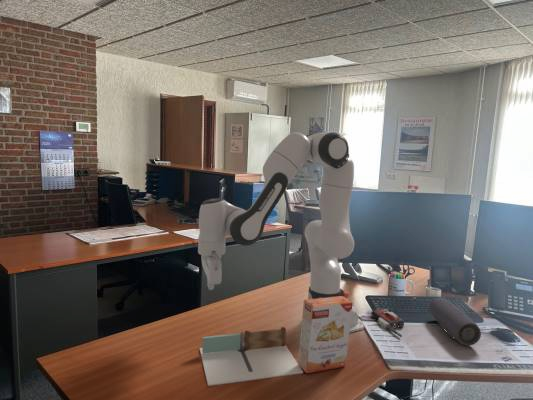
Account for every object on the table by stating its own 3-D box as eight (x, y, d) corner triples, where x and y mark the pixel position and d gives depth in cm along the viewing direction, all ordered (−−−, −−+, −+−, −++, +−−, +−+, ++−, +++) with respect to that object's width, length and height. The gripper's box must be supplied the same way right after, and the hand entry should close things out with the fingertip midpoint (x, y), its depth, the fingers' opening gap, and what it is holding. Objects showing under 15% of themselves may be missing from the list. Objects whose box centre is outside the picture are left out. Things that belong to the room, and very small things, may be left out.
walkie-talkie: (366, 316, 156) (398, 340, 137) (367, 306, 155) (399, 328, 136) (384, 314, 159) (418, 337, 140) (385, 303, 158) (419, 325, 139)
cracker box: (306, 375, 112) (312, 306, 110) (297, 364, 118) (302, 298, 115) (346, 367, 118) (353, 301, 115) (335, 357, 123) (341, 294, 121)
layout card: (281, 340, 133) (281, 338, 133) (303, 373, 114) (303, 371, 114) (199, 349, 125) (199, 347, 125) (208, 386, 106) (208, 384, 106)
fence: (284, 343, 130) (284, 326, 129) (285, 346, 128) (286, 329, 127) (243, 348, 126) (244, 330, 125) (244, 350, 124) (245, 333, 123)
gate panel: (242, 348, 125) (243, 331, 125) (243, 349, 124) (244, 333, 124) (202, 352, 122) (202, 335, 121) (202, 354, 121) (202, 337, 120)
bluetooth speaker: (481, 349, 132) (484, 322, 131) (454, 348, 132) (457, 321, 131) (449, 320, 155) (452, 296, 153) (426, 319, 155) (428, 295, 153)
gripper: (227, 256, 117) (225, 299, 119) (216, 240, 137) (215, 277, 139) (206, 256, 116) (205, 301, 118) (198, 240, 135) (197, 278, 137)
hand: (210, 288), depth 128 cm, fingers closed
